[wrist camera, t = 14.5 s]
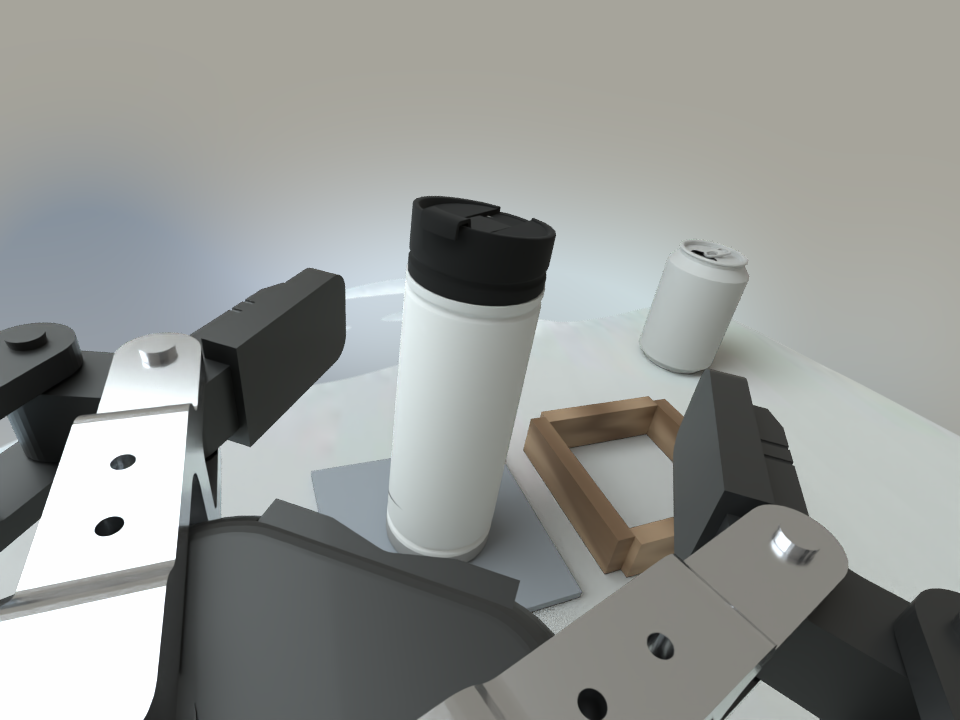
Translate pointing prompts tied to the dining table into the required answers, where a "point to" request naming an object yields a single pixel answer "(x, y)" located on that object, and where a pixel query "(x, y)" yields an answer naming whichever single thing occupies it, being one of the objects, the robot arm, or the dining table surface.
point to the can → (693, 305)
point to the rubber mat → (509, 547)
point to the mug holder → (582, 495)
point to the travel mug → (461, 369)
